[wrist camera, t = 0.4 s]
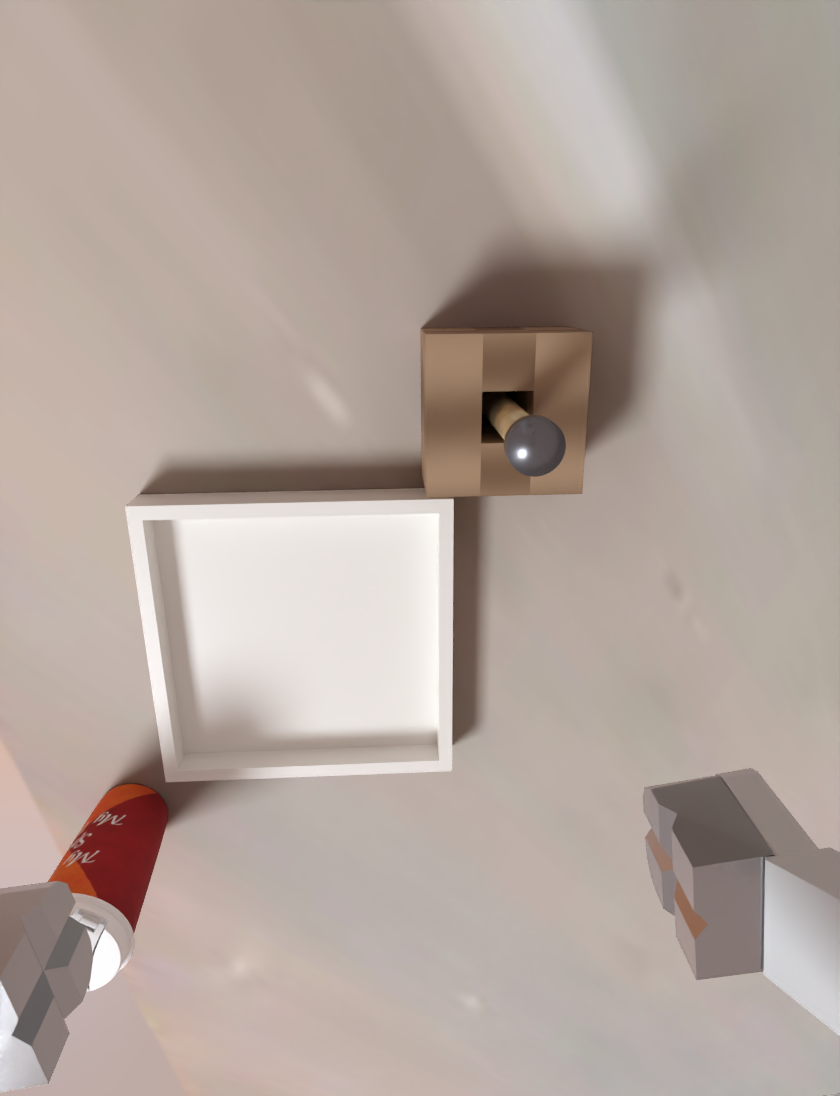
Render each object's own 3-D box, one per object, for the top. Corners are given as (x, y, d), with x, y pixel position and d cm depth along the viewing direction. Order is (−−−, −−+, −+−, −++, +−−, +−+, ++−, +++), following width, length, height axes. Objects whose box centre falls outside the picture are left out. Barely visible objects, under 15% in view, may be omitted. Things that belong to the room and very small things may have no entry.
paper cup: (111, 757, 60) (36, 891, 46) (198, 798, 61) (149, 939, 48) (69, 825, 62) (-15, 973, 48) (154, 863, 63) (95, 1016, 50)
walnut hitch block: (420, 328, 50) (426, 334, 44) (568, 326, 50) (592, 332, 45) (421, 474, 53) (427, 497, 48) (560, 471, 54) (582, 493, 48)
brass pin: (472, 380, 51) (507, 418, 37) (515, 380, 51) (567, 417, 37) (471, 424, 52) (505, 477, 38) (513, 423, 52) (564, 476, 38)
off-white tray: (138, 494, 53) (125, 506, 50) (449, 487, 54) (453, 498, 51) (175, 758, 60) (165, 782, 57) (448, 748, 61) (451, 770, 58)
